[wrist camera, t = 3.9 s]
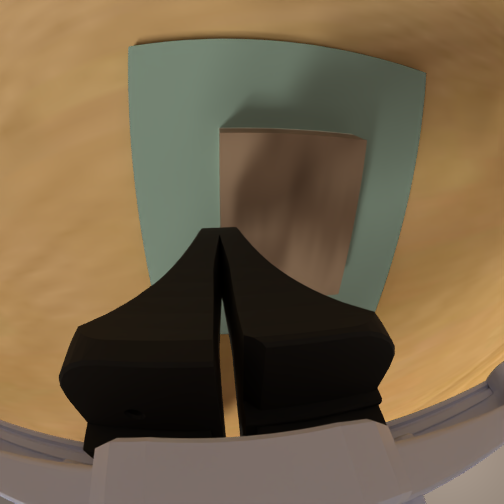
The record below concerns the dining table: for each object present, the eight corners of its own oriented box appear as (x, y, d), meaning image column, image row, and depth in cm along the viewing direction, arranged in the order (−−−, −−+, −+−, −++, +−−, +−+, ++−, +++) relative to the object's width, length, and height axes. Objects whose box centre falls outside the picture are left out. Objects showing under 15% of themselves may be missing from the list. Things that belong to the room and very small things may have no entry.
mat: (370, 315, 19) (372, 319, 19) (163, 331, 18) (163, 335, 17) (421, 72, 11) (426, 72, 11) (130, 47, 9) (128, 46, 9)
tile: (222, 282, 16) (328, 276, 16) (223, 302, 14) (338, 294, 15) (219, 127, 12) (351, 133, 12) (219, 133, 10) (367, 140, 11)
